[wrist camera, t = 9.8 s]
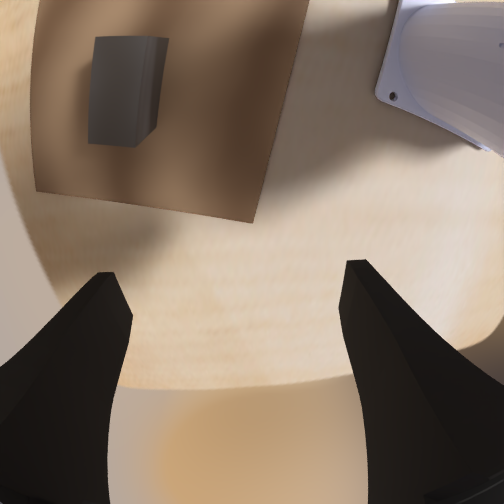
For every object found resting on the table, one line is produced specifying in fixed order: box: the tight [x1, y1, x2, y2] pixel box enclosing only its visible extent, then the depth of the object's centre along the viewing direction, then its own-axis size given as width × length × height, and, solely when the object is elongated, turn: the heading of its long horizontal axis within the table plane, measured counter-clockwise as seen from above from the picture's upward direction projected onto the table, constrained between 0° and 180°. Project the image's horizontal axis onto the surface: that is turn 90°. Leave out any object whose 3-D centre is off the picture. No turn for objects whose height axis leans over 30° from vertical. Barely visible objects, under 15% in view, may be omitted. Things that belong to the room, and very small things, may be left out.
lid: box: [30, 0, 309, 224], centre depth 12 cm, size 15×15×4 cm
